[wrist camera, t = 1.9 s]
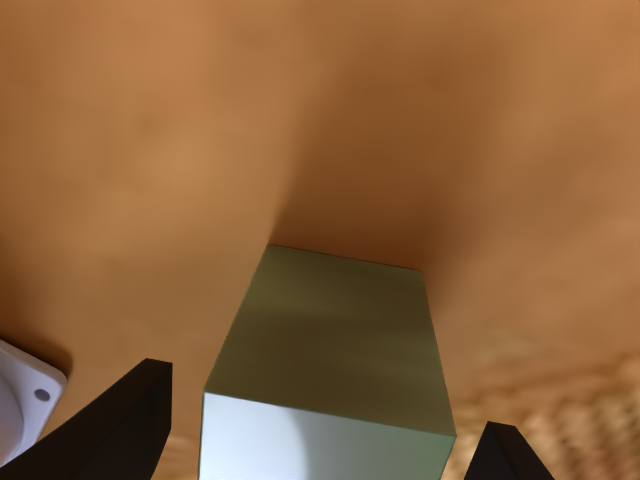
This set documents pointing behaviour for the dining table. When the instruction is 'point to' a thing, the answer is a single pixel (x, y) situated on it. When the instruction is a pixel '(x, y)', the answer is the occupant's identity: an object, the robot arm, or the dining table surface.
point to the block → (327, 377)
